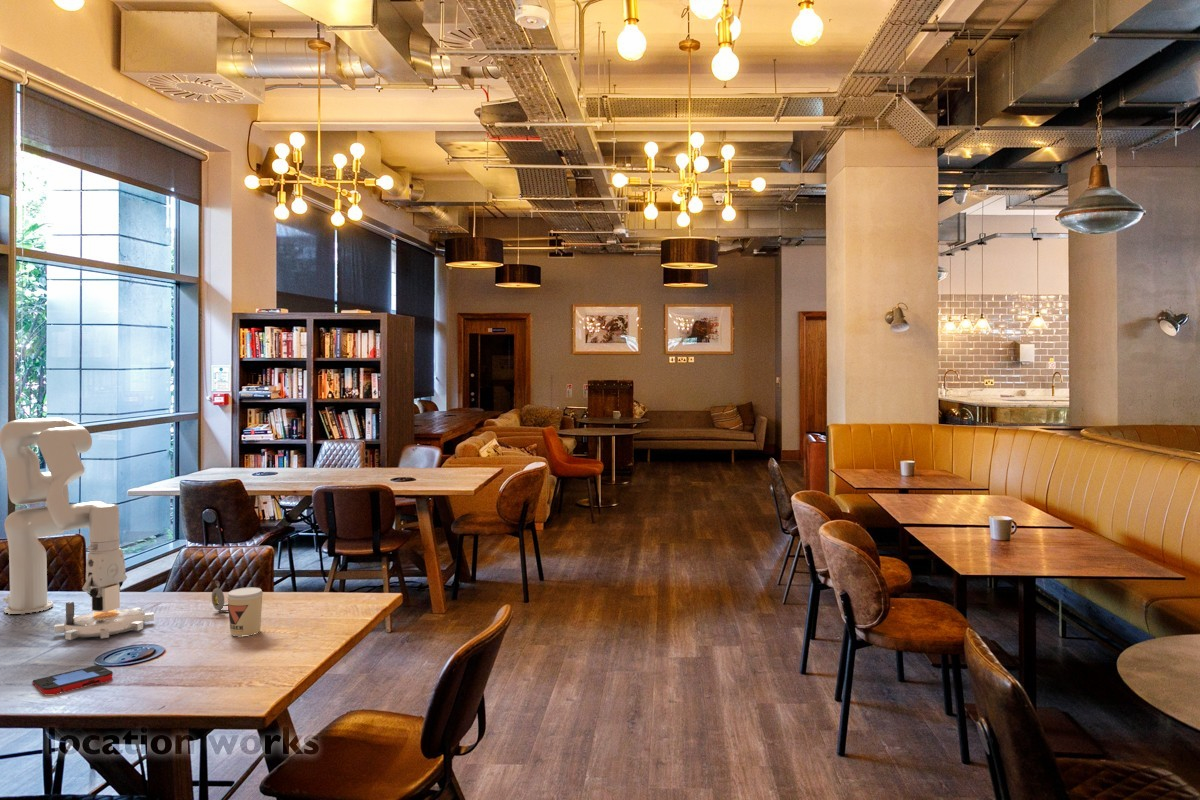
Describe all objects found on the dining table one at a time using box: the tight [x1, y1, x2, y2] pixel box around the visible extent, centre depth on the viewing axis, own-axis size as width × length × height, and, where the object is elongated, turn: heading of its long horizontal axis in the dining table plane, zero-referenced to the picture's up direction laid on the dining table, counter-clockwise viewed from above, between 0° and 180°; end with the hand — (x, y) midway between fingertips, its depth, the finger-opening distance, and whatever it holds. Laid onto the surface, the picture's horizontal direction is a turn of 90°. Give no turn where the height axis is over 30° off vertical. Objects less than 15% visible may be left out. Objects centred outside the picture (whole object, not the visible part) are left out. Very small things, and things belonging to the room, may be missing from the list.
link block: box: [91, 584, 121, 612], centre depth 240 cm, size 5×5×7 cm
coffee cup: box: [226, 586, 264, 636], centre depth 232 cm, size 9×9×12 cm
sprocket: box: [53, 601, 155, 641], centre depth 235 cm, size 24×24×8 cm
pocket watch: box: [211, 580, 229, 612], centre depth 254 cm, size 8×8×10 cm
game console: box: [32, 664, 113, 695], centre depth 195 cm, size 14×13×2 cm
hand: (105, 606), depth 240 cm, fingers closed on link block, 4 cm apart
